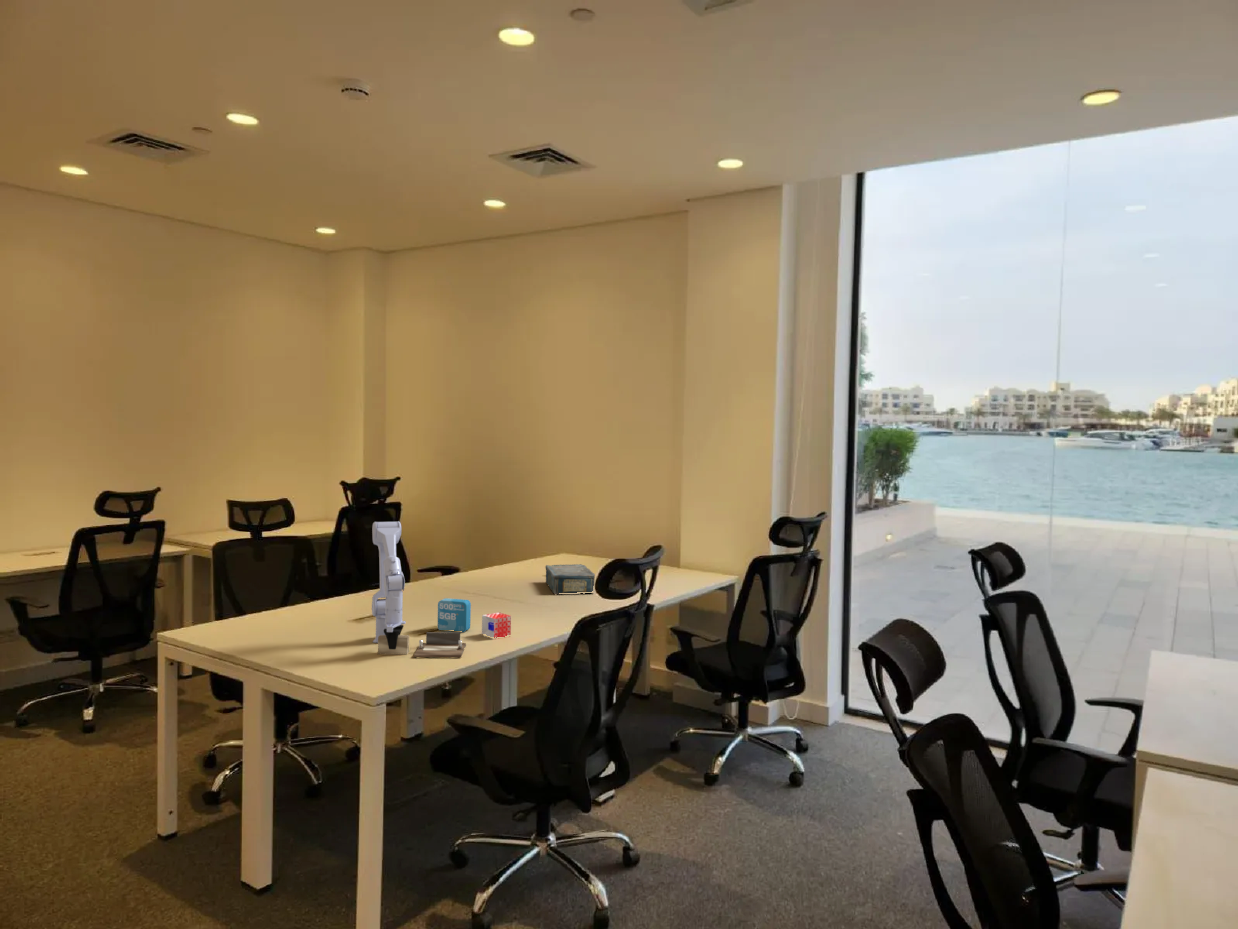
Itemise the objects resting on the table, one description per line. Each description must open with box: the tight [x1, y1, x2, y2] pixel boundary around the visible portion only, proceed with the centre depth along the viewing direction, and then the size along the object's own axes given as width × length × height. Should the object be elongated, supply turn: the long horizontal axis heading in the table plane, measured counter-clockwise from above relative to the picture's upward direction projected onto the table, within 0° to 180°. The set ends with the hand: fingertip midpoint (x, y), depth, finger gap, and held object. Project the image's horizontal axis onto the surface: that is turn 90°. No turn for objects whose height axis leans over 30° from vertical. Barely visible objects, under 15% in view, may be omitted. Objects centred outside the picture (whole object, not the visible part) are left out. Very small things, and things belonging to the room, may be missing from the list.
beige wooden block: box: [377, 634, 410, 655], centre depth 284 cm, size 3×10×6 cm, turn 95°
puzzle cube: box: [481, 611, 512, 638], centre depth 312 cm, size 8×8×8 cm
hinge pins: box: [418, 639, 463, 649], centre depth 288 cm, size 1×15×3 cm, turn 95°
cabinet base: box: [413, 631, 467, 658], centre depth 288 cm, size 16×16×5 cm
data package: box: [437, 597, 472, 633], centre depth 319 cm, size 12×4×12 cm, turn 78°
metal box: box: [544, 563, 596, 595], centre depth 409 cm, size 21×32×10 cm, turn 12°
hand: (393, 647), depth 285 cm, fingers closed on beige wooden block, 3 cm apart
